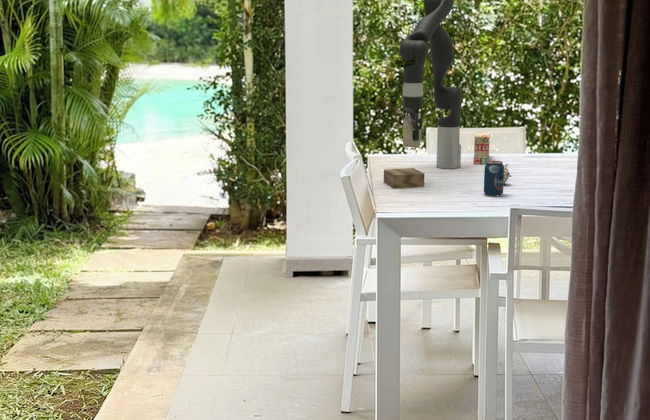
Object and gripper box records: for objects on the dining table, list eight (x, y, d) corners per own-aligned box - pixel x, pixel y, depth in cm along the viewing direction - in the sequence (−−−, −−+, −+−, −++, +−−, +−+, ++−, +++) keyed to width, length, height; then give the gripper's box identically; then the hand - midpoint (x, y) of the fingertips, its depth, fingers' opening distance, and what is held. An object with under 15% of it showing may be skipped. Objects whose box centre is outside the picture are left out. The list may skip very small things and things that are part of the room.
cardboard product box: (474, 156, 429) (475, 128, 426) (488, 156, 428) (489, 129, 425) (473, 164, 408) (474, 136, 405) (488, 165, 407) (489, 136, 404)
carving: (424, 147, 364) (425, 115, 361) (412, 149, 358) (413, 117, 356) (411, 145, 368) (411, 114, 365) (399, 147, 362) (399, 116, 360)
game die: (502, 193, 369) (518, 172, 368) (499, 189, 361) (515, 168, 360) (483, 180, 372) (499, 159, 371) (480, 176, 364) (496, 154, 363)
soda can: (498, 197, 345) (499, 164, 342) (480, 195, 348) (481, 162, 346) (505, 193, 350) (507, 161, 348) (488, 191, 354) (489, 159, 351)
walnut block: (412, 180, 375) (413, 167, 373) (424, 186, 363) (424, 173, 362) (383, 182, 371) (383, 169, 370) (394, 188, 360) (394, 175, 359)
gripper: (429, 96, 353) (428, 141, 357) (414, 92, 366) (414, 135, 370) (410, 97, 351) (409, 142, 355) (396, 93, 364) (395, 136, 368)
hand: (412, 138), depth 362 cm, fingers closed on carving, 6 cm apart
